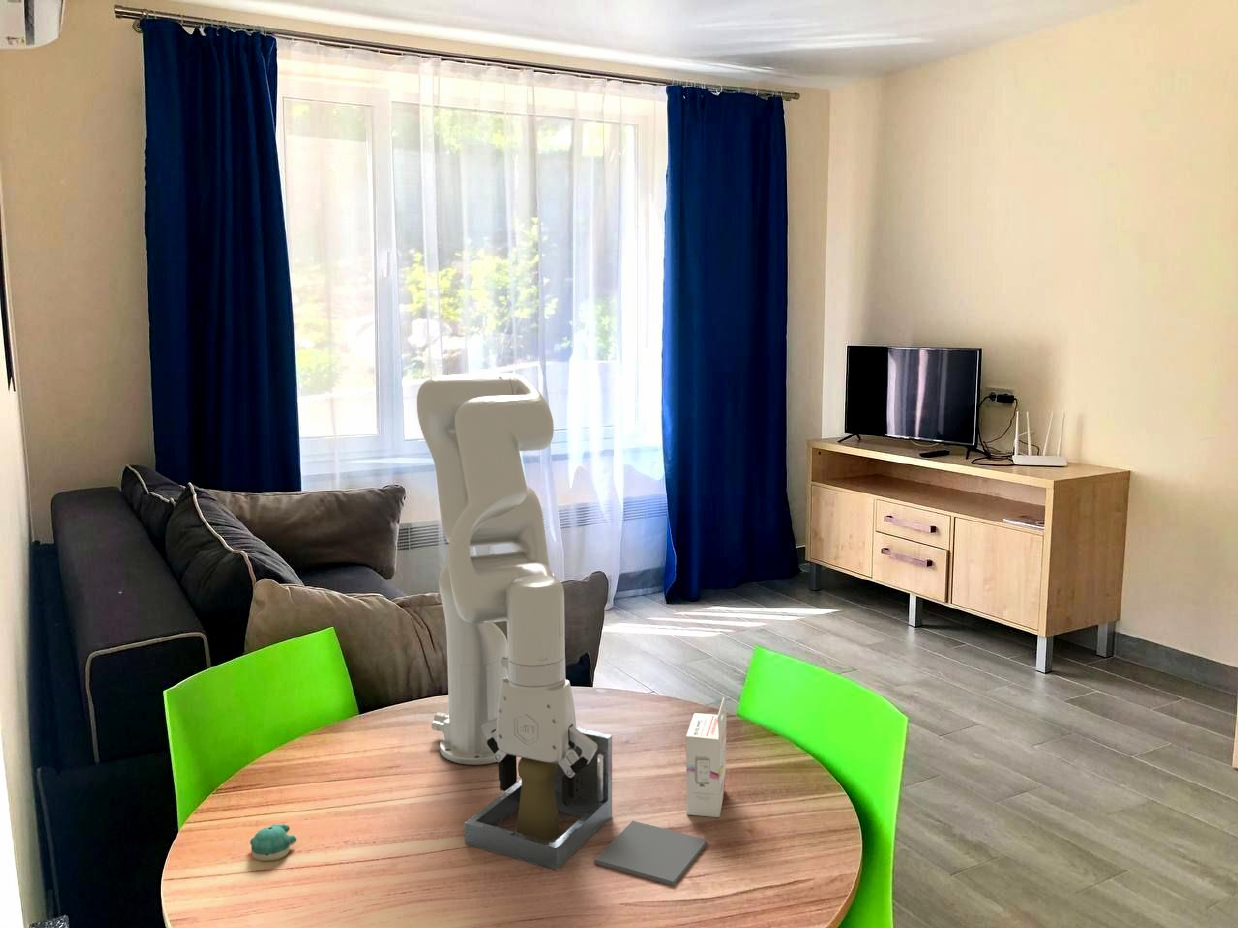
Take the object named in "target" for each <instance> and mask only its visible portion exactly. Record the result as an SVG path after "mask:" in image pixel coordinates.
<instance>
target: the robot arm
mask: <svg viewBox="0 0 1238 928" xmlns="http://www.w3.org/2000/svg"><path fill="white" fill-rule="evenodd" d="M416 412H417V413H416V414H417V418H418V423H419V427H420V431H421V434H422V436H423V438H424V441H425V443H426V444H427V447H428V450H429V452H430V454H431V458H432V459H433V463H434V467H435V474H436V475H435V476H436V482H437V483H436V485H437V492H438V493H437V494H438V502H439V509H440V518H441V524H442V525H441V527H442V530H443V534H444V539H445V540H446V541H447V543H448V548H447V563H446V564H445V566H443V568H442V569H441V571H440V573H439V574H440V575H439V577H438V578H439V579H438V584H439V585H438V587H439V594H440V599H441V604H442V608H443V614H444V615H443V616H444V623H445V624H444V625H445V633H446V654H447V655H446V657H447V662H446V663H447V688H448V689H447V690H448V691H447V693H448V694H447V696H448V699H447V701H448V713H444V712H440V711H439V712H436V713H435V714H434V717H433V721H432V723H431V729H432V730H435V731H439V732H440V731H441V732H442V733H443V738H442V739H441V740H440V743H439V752H440V754H441V756H442V757H443V758H445V759H446V760H448V761H451V762H453V763H457V764H459V765H470V766H471V765H472V766H474V765H476V766H477V765H488V764H493V763H497V762H498V780H499V790H500V791H502V792H505V791H507V790H508V789H509V788H511V787H512V786H513V785H515V784H516V783H517V782H518V765H517V764H518V763H517V757H518V758H527V759H531V760H536V761H541V762H546V763H559V765H560V766H561V768H562V769H563V771H564V772H565V775H564V776H563V777H562V803H563V805H565V806H568V805H570V804H571V803H572V802H573V801H574V800H575V799H577V798H578V796H579V794H580V771H581V770H582V769H583V768H584V767H585V766H586V765H587V764H589V763H590V762H591V760H592V757H593V756H594V754H595V752H596V750H597V747H598V746H597V744H596V743H595V742H593V741H592V740H591V739H590V738H588V737H587V736H586V735H584V734H583V733H582V732H580V731H579V730H578V729H576V727H577V719H576V708H575V702H574V696H573V690H572V687H571V683H570V680H568V679H566V655H565V654H566V653H565V651H566V650H565V645H566V643H565V593H564V592H565V590H564V586H563V584H562V582H561V580H559V579H557V577H556V575H555V573H554V572H553V571H552V570H551V568H550V567H551V566H550V562H549V553H548V546H547V538H546V531H545V524H544V515H543V510H542V506H541V502H540V500H539V499H540V498H538V496H537V494H536V492H535V491H534V490H533V489H532V488H531V487H529V486H528V485H527V481H526V476H525V471H524V468H523V462H522V458H521V454H520V453H521V452H530V451H531V452H532V451H533V452H534V451H543V450H545V449H547V448H548V447H549V446H550V445H551V443H552V441H553V438H554V433H555V432H554V431H555V429H554V428H555V427H554V426H555V425H554V419H553V414H552V412H551V409H550V406H549V404H548V402H547V400H546V399H545V398H544V396H543V395H542V393H541V392H540V391H539V390H538V389H537V388H536V387H535V386H534V385H533V384H532V383H531V382H530V381H529V380H528V379H527V378H526V377H524V376H523V375H521V374H516V373H484V374H483V373H480V374H479V373H475V374H474V373H471V374H470V373H466V374H465V373H463V374H461V373H460V374H448V375H441V376H436V377H433V378H429V379H428V380H426V381H424V382H423V383H422V384H421V385H420V387H419V388H418V391H417V395H416ZM497 545H498V546H500V545H502V546H503V545H511V547H512V548H513V550H514V551H511V552H501V553H486V554H477V555H475V554H474V555H471V549H470V548H478V547H490V546H491V547H492V546H497ZM499 622H500V623H501V622H506V635H505V634H504V632H503V631H502V630H501V628H499V626H498V625H497V624H496V623H499ZM506 637H507V638H506ZM576 745H577V746H578V747H580V748H581V749H582V754H581V757H580V758H579V757H578V755H577V754H576V752H575V751H574V750H575V749H576ZM566 756H567V758H568V759H569V760H568V759H567V758H566ZM569 761H570V762H571V763H570V762H569ZM571 764H572V765H571Z"/></svg>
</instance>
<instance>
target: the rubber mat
mask: <svg viewBox="0 0 1238 928" xmlns="http://www.w3.org/2000/svg"><path fill="white" fill-rule="evenodd" d="M707 845H708V839H706V838H702V837H698V836H695V835H691V834H686V833H683V832H679V831H674V830H670V829H667V828H663V827H659V826H656V825H650V824H647V823H643V822H639V821H636V820H631V821H630V823H629V824H627V826H626V827H624V829H623V830H622V831H621V832H620V833H618V835H617V836H616V837H615V838H614V839H613V840H612V841H611V842H610V843H609V844H608V845H607V846H606V847H604V849H603V850H602V851H601V852H600V853H599V854H598V855H597V856H596V857H595V858H594V864H595V865H597V866H600V867H604V868H608V869H611V870H615V871H619V872H622V873H625V874H629V875H633V876H636V877H640V878H643V879H646V880H651V881H654V882H657V883H658V882H659V883H662V884H666V885H668V886H673V887H674V886H675V885H676V884H677V883H678V881H679V880H680V879H681V878H682V877H683V875H684V874H685V873H686V871H687V870H688V868H690V866H691V865H692V864H693V863H694V862H695V860H696V859H697V858H698V857H699V855H700V854H701V853H702V851H703V850H704V849H705V848H706V846H707Z"/></svg>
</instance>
